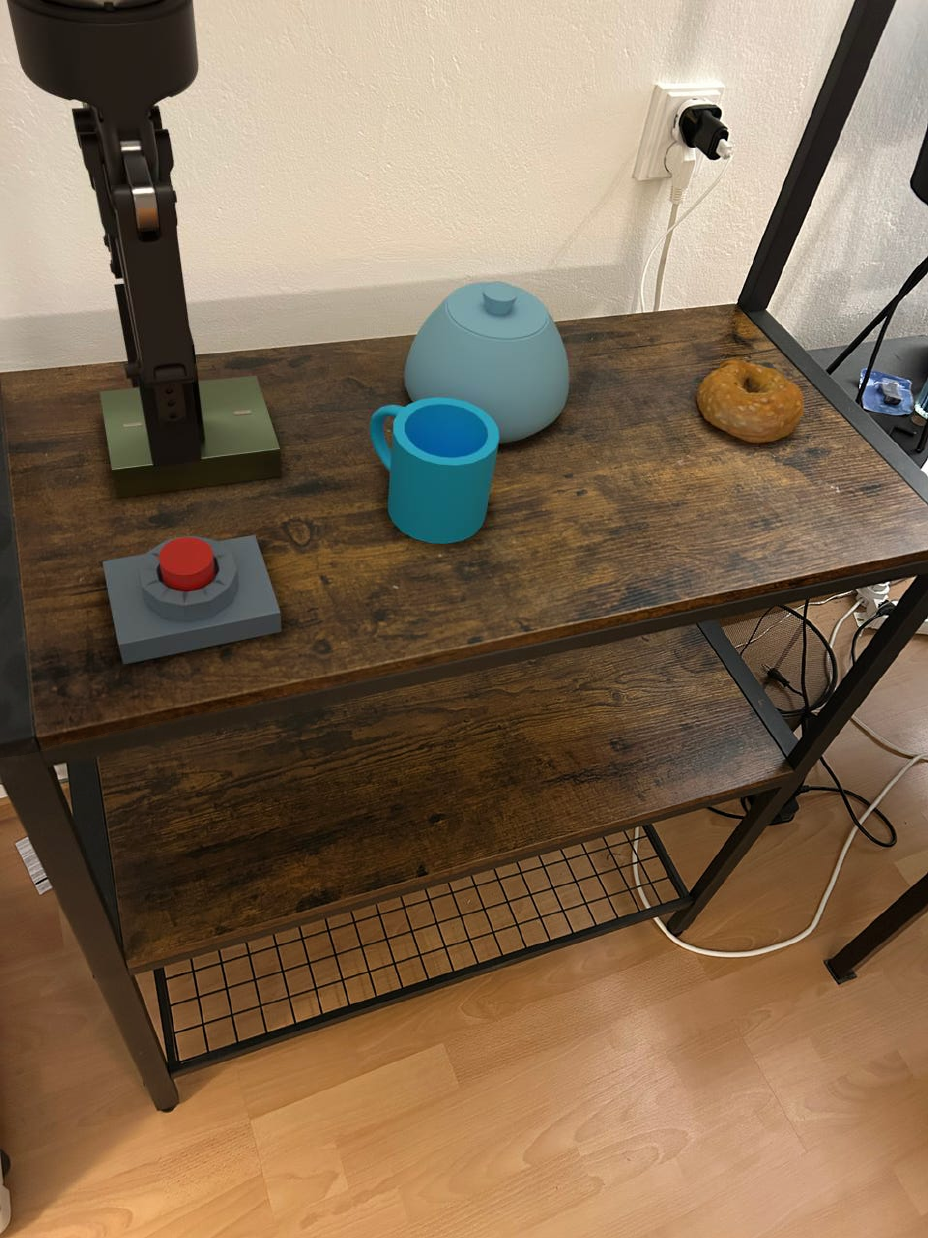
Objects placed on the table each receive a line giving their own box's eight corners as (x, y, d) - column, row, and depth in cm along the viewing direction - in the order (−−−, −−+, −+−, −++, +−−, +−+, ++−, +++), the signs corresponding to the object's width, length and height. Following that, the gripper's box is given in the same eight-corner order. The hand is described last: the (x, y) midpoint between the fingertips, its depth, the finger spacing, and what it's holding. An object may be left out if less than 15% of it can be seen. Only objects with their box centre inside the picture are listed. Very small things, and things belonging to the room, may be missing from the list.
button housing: (123, 664, 66) (113, 627, 63) (107, 581, 71) (97, 543, 68) (281, 632, 70) (279, 595, 67) (256, 554, 74) (253, 516, 71)
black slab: (205, 440, 78) (194, 341, 71) (182, 443, 77) (168, 343, 70) (194, 395, 81) (182, 296, 74) (171, 397, 81) (157, 298, 74)
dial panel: (118, 499, 77) (111, 468, 74) (105, 419, 83) (98, 388, 80) (281, 477, 80) (280, 447, 78) (257, 402, 86) (256, 372, 84)
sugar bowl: (591, 397, 92) (619, 287, 84) (508, 477, 84) (530, 363, 75) (461, 335, 97) (475, 225, 88) (370, 404, 88) (375, 289, 79)
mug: (506, 512, 81) (521, 434, 75) (438, 559, 76) (448, 480, 70) (404, 440, 85) (410, 362, 79) (335, 481, 81) (335, 401, 75)
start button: (166, 596, 66) (163, 578, 65) (157, 559, 68) (154, 541, 67) (219, 586, 67) (217, 569, 66) (209, 550, 69) (207, 532, 68)
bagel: (802, 400, 96) (821, 359, 93) (785, 464, 89) (805, 422, 86) (706, 369, 98) (721, 328, 94) (682, 430, 91) (697, 388, 87)
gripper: (239, 68, 36) (266, 520, 53) (151, -96, 47) (197, 319, 65) (22, 73, 33) (124, 544, 51) (-15, -101, 45) (78, 332, 62)
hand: (165, 418), depth 58 cm, fingers open, 7 cm apart
